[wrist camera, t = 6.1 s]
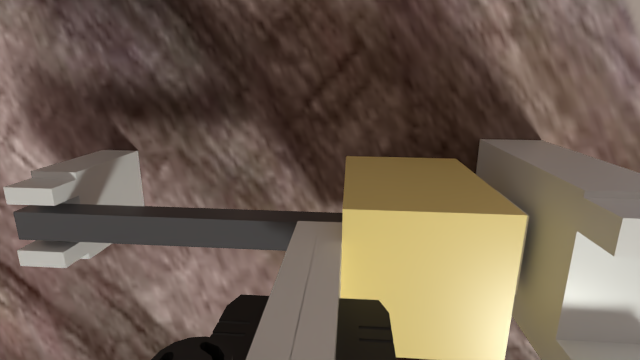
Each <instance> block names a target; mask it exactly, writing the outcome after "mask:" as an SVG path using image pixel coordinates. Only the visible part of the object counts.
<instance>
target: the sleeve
mask: <svg viewBox="0 0 640 360" xmlns="http://www.w3.org/2000/svg"><path fill="white" fill-rule="evenodd" d="M526 221H527V215H526V214H525V213H524V212H523V211H521V210H520V209H519V208H518V207H516V206H515V205H514V204H513V203H511V202H510V201H509V200H507V199H506V198H505V197H504V196H502V195H501V194H500V193H499V192H497V191H496V190H495V189H494V188H492V187H491V186H490V185H489V184H487V183H486V182H485V181H483V180H482V179H481V178H480V177H478V176H477V175H476V174H475V173H473V172H472V171H471V170H470V169H468V168H467V167H466V166H465V165H463V164H462V163H461V162H459V161H458V160H457V159H449V158H406V157H363V156H346V167H345V182H344V197H343V217H342V258H341V298H348V299H368V300H379V301H380V302H381V303H382V305H383V306H384V307H385V308H386V310H387V311H388V312H389V315H390V322H391V331H392V335H393V344H394V348H395V354H396V357H399V358H416V359H432V360H505V353H506V347H507V341H508V335H509V328H510V322H511V316H512V309H513V303H514V297H515V291H516V284H517V278H518V272H519V265H520V259H521V253H522V247H523V240H524V234H525V228H526Z"/></svg>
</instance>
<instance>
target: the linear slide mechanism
mask: <svg viewBox="0 0 640 360" xmlns="http://www.w3.org/2000/svg"><path fill="white" fill-rule="evenodd" d="M476 175H477V176H478V177H480V178H481V179H482V180H483V181H485V182H486V183H487V184H489V185H490V186H491V187H492V188H494V189H495V190H496V191H497V192H499V193H500V194H501V195H502V196H504V197H505V198H506V199H507V200H509V201H510V202H511V203H513V204H514V205H515V206H516V207H518V208H519V209H520V210H521V211H523V212H524V213H525V214H526V215H527V221H526V228H525V234H524V240H523V247H522V253H521V259H520V265H519V272H518V278H517V284H516V291H515V297H514V303H513V309H512V317H513V318H514V320H515V321H516V323H517V324H518V326H519V327H520V329H521V330H522V332H523V333H524V335H525V336H526V338H527V339H528V341H529V342H530V344H531V345H532V347H533V348H534V350H535V351H536V353H537V354H538V356H539V357H540V359H541V360H640V173H638V172H635V171H632V170H629V169H626V168H623V167H620V166H617V165H614V164H611V163H608V162H605V161H602V160H599V159H596V158H593V157H590V156H587V155H584V154H581V153H578V152H575V151H572V150H569V149H566V148H563V147H561V146H558V145H555V144H552V143H549V142H546V141H543V140H502V139H480V143H479V151H478V160H477V168H476ZM31 176H32V178H31V179H28V180H24V181H21V182H18V183H15V184H12V185H9V186H6V187H3V188H4V193H5V197H6V202H7V204H16V205H29V206H27V207H24V208H22V209H19V210H17V211H15V212H13V213H14V217H15V222H16V227H17V231H18V236H19V239H22V240H36V241H34V242H32V243H30V244H28V245H26V246H25V247H23V248H21V249H19V250H17V252H18V257H19V261H20V266H34V267H55V268H67V267H68V266H70V265H71V264H73V263H74V262H76V261H77V260H79V259H90V258H92V257H93V256H95V255H96V254H98V253H99V252H100V251H102V250H103V249H105V248H106V247H108V246H109V245H110V244H112V243H117V244H140V245H164V246H188V247H211V248H235V249H259V250H282V251H287V248H288V246H289V243H290V240H291V238H292V235H293V232H294V230H295V227H296V224H297V222H298V221H315V222H342V217H343V213H326V212H297V211H268V210H239V209H210V208H181V207H152V206H144V198H143V190H142V182H141V173H140V165H139V157H138V151H129V150H101V151H97V152H94V153H91V154H87V155H84V156H80V157H77V158H74V159H70V160H67V161H64V162H60V163H57V164H54V165H50V166H47V167H43V168H40V169H37V170H33V171H31Z"/></svg>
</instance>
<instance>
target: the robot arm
mask: <svg viewBox="0 0 640 360" xmlns="http://www.w3.org/2000/svg"><path fill="white" fill-rule="evenodd" d="M341 258H342V222H315V221H298V222H297V224H296V227H295V230H294V232H293V235H292V238H291V240H290V243H289V246H288V248H287V251H286V254H285V256H284V259H283V262H282V264H281V267H280V270H279V272H278V275H277V278H276V280H275V283H274V286H273V288H272V291H271V294H270V296H258V295H240V296H239V297H238V298H236V299H235V300H234V301H232V302H231V303H230V304H229V305H227V307H226V308H225V310H224V312H223V314H222V316H221V318H220V319H219V323H217V325H216V327H215V329H214V330H213V334H212V335H211V336H210V337H192V338H187V339H184V340H181V341H178V342H174V343H173V344H171V345H169V346H167V347H166V348H164V349H162V350H161V351H159V352H158V353H157V354H156V355H155V356H154V357H153V358H152V359H151V360H396V354H395V348H394V344H393V335H392V331H391V322H390V315H389V312H388V311H387V310H386V308H385V307H384V306H383V305H382V303H381V302H380V301H379V300H368V299H348V298H341Z"/></svg>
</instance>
